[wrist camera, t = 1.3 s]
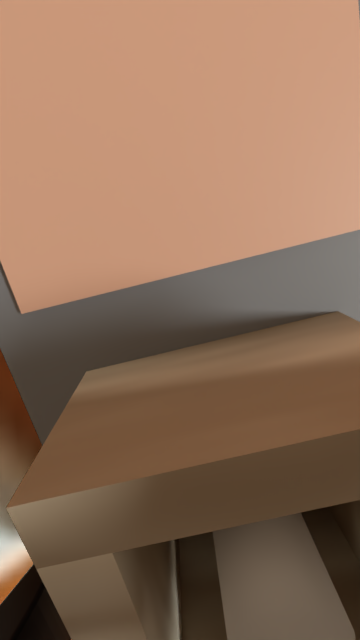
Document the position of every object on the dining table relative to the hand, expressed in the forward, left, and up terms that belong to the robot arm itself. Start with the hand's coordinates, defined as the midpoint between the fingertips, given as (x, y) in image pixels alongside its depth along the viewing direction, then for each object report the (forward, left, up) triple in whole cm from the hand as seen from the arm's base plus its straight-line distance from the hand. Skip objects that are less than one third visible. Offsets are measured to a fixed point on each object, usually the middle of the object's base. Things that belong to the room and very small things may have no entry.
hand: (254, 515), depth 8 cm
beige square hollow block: (0, 0, -2) cm, 2 cm away
